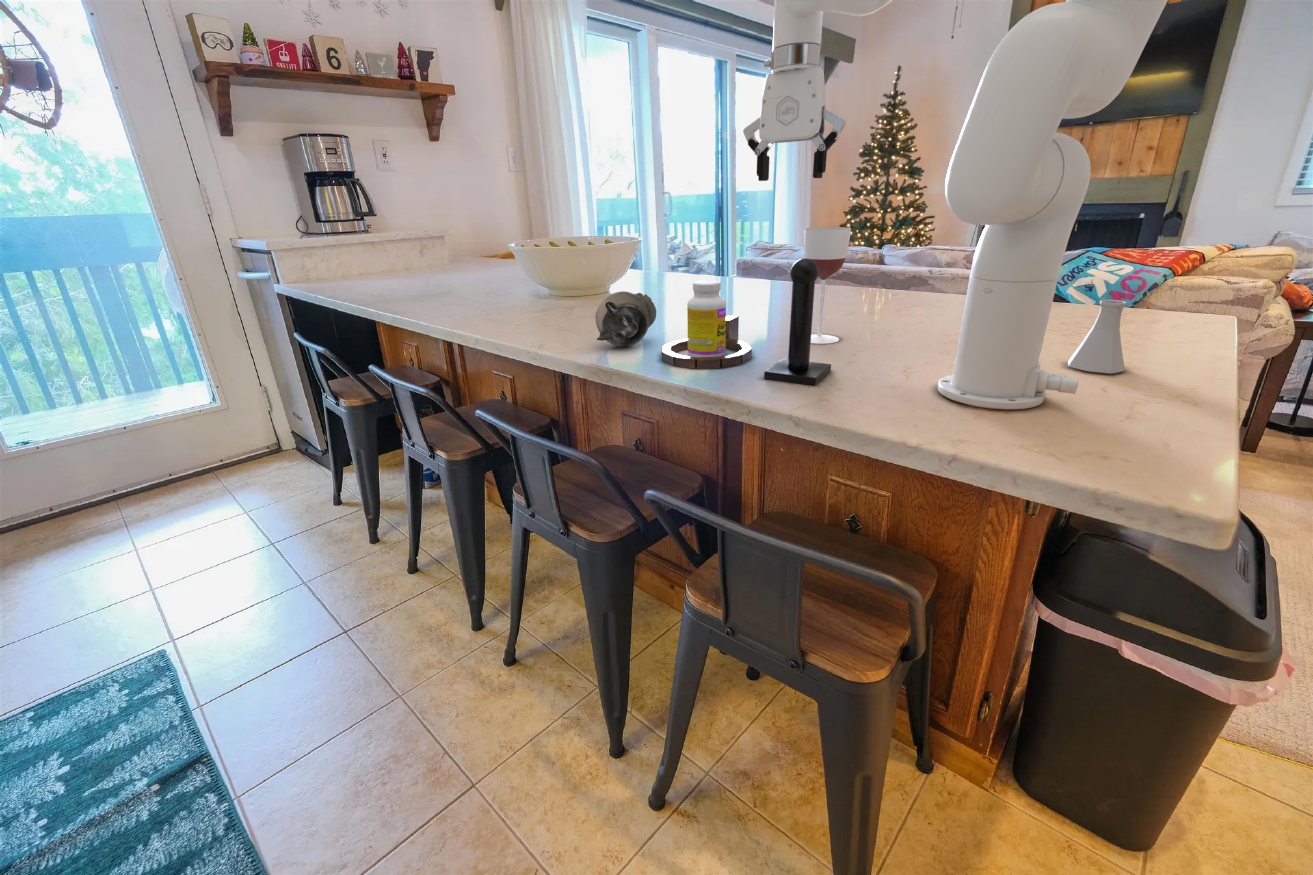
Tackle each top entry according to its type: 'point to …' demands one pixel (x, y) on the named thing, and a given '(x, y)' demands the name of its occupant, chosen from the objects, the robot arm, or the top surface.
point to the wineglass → (826, 262)
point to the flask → (1102, 342)
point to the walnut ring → (731, 343)
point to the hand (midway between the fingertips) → (789, 179)
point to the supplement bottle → (706, 320)
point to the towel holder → (800, 331)
